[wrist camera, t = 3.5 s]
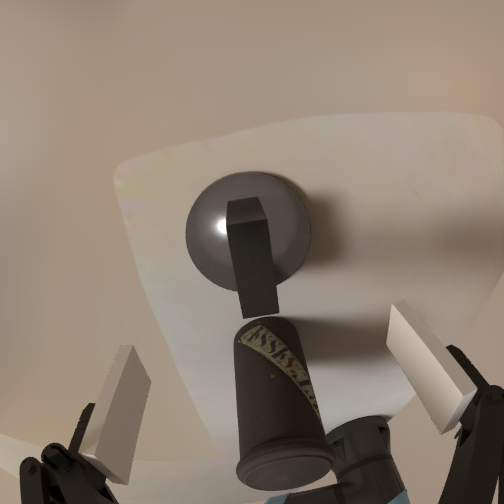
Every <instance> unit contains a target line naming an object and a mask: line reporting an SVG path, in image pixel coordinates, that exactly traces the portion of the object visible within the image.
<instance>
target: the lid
mask: <svg viewBox="0 0 504 504" xmlns="http://www.w3.org/2000/svg"><path fill="white" fill-rule="evenodd" d="M310 236H311V227H310V220H309V216H308V213H307V210H306V208H305V206H304V204H303V203H302V201H301V199H300V198H299V197H298V196H297V194H296V193H295V192H294V191H293V190H292V189H291V188H290V187H288V186H287V185H286V184H285V183H283V182H282V181H280V180H279V179H276V178H274V177H272V176H270V175H267V174H263V173H258V172H238V173H234V174H230V175H227V176H225V177H222V178H220V179H218V180H216V181H215V182H213V183H212V184H211V185H209V186H208V187H207V188H206V189H205V190H204V191H203V192H202V193H201V194H200V196H199V197H198V198H197V200H196V201H195V203H194V205H193V206H192V208H191V211H190V213H189V215H188V219H187V223H186V244H187V248H188V252H189V255H190V257H191V259H192V261H193V263H194V264H195V266H196V267H197V269H198V270H199V271H200V272H201V273H202V274H203V275H204V276H205V277H206V278H207V279H209V280H210V281H211V282H213V283H214V284H216V285H218V286H220V287H223V288H225V289H228V290H232V291H237V292H238V295H239V300H240V305H241V310H242V315H243V319H245V318H252V317H258V316H265V315H271V314H277V313H279V305H278V296H277V288H276V285H278V284H280V283H282V282H283V281H285V280H286V279H287V278H289V277H290V276H291V275H292V274H293V273H294V272H295V271H296V270H297V269H298V267H299V266H300V265H301V263H302V261H303V260H304V258H305V256H306V253H307V251H308V247H309V243H310Z"/></svg>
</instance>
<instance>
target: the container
mask: <svg viewBox="0 0 504 504" xmlns="http://www.w3.org/2000/svg"><path fill="white" fill-rule="evenodd" d="M234 366H235V381H236V400H237V416H238V428H239V447H240V461H239V463H238V464H237V467H236V474H237V477H238V478H239V480H240V481H241V482H242V483H244V484H245V485H247V486H249V487H251V488H254V489H258V490H265V491H279V490H288V489H293V488H298V487H301V486H305V485H308V484H310V483H313V482H315V481H317V480H319V479H321V478H322V477H324V476H325V475H326V474H327V473H328V472H329V471H330V470H331V469H332V468H333V466H334V465H335V462H336V453H335V450H334V449H333V448H332V447H331V446H330V445H329V444H328V443H327V439H326V435H325V431H324V428H323V424H322V420H321V417H320V413H319V409H318V405H317V401H316V397H315V394H314V390H313V387H312V383H311V380H310V376H309V372H308V368H307V365H306V361H305V358H304V354H303V350H302V346H301V343H300V339H299V336H298V333H297V331H296V329H295V327H294V326H293V325H292V324H291V323H290V322H288V321H286V320H284V319H280V318H275V317H267V318H260V319H256V320H253V321H251V322H249V323H248V324H246V325H245V326H243V327H242V328H241V329H240V330H239V331H238V332H237V334H236V336H235V339H234Z"/></svg>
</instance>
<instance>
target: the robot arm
mask: <svg viewBox="0 0 504 504" xmlns="http://www.w3.org/2000/svg"><path fill="white" fill-rule="evenodd" d="M386 345H387V347H388V348H389V350H390V351H391V353H392V354H393V356H394V357H395V359H396V361H397V362H398V364H399V365H400V367H401V369H402V370H403V372H404V373H405V375H406V377H407V378H408V380H409V381H410V383H411V385H412V386H413V388H414V390H415V391H416V393H417V395H418V396H419V398H420V400H421V401H422V403H423V405H424V407H425V408H426V410H427V412H428V413H429V415H430V417H431V419H432V420H433V422H434V424H435V426H436V427H437V429H438V431H439V433H440V434H444V433H446V432H448V431H450V430H452V429H453V428H455V426H456V425H457V423H458V422H459V421H460V423H461V424H462V426H461V428H460V429H459V431H458V432H457V434H456V435H455V437H454V439H456V438H457V437H458V435H459V437H458V441H457V445H456V450H455V453H454V457H453V461H452V464H451V468H450V471H449V474H448V477H447V480H446V483H445V486H444V489H443V492H442V495H441V497H440V500H439V503H438V504H492V500H493V496H494V492H495V488H496V484H497V480H498V475H499V493H498V504H504V389H502V388H501V387H499V386H496V385H489V384H488V383H487V382H486V380H485V379H484V378H483V376H482V375H481V374H480V373H479V372H478V370H477V369H476V368H475V367H474V365H473V364H471V362H470V360H469V359H468V358H466V356H465V354H464V353H463V352H462V351H461V350H460V349H458V348H457V347H455V346H453V345H449V346H447V347H445V346H444V345H443V344H442V343H441V342H440V340H439V339H438V338H437V337H436V336H435V334H434V333H433V332H432V331H431V330H430V329H429V327H428V326H427V325H426V324H425V323H424V322H423V321H422V319H421V318H420V317H419V316H418V315H417V314H416V313H415V311H414V310H413V309H412V308H411V307H410V306H409V305H408V304H407V303H406V301H405V300H403V301H399V302H395V303H392V307H391V314H390V322H389V328H388V335H387V341H386ZM150 385H151V380H150V378H149V376H148V374H147V373H146V371H145V369H144V367H143V365H142V363H141V361H140V359H139V356H138V355H137V352H136V350H135V348H134V346H133V345H124V346H120V347H119V349H118V352H117V354H116V356H115V358H114V361H113V363H112V365H111V368H110V370H109V372H108V375H107V377H106V380H105V382H104V384H103V387H102V389H101V392H100V394H99V397H98V399H97V402H96V403H89V404H88V405H87V407H86V408H85V409H84V410H83V412H82V414H81V417H80V419H79V420H80V421H79V422H78V424H77V428H76V429H75V432H74V435H73V437H72V440H71V443H70V445H69V449H68V450H67V449H66V448H65V447H64V446H63V445H61V444H59V443H51V444H49V445H47V446H46V447H45V448H44V450H43V451H42V454H41V460H42V462H44V463H41V462H39V461H38V460H37V459H36V458H34V457H28V458H25V459H24V460H23V461H22V463H21V465H20V491H21V502H22V504H119V503H118V502H117V500H116V499H115V497H114V495H113V494H112V492H111V490H110V489H109V487H108V486H107V484H106V483H105V481H106V478H108V479H109V480H110V481H111V482H113V483H118V484H124V485H128V482H129V477H130V472H131V467H132V462H133V457H134V452H135V447H136V443H137V438H138V433H139V430H140V425H141V421H142V416H143V413H144V408H145V404H146V401H147V397H148V393H149V388H150ZM326 439H327V443H328V444H329V445H330V446H331V447H332V448H333V449H334V450H335V453H336V462H335V465H334V466H333V468H332V469H331V470H332V471H333V472H334V473H335V475H336V479H337V482H338V483H337V484H333V485H329V486H325V487H321V488H316V489H312V490H307V491H302V492H296V493H287V494H285V495H280V496H275V497H271V498H269V499H268V500H267V501H266V502H265V503H264V504H410V501H409V498H408V495H407V489H405V486H404V484H403V482H402V479H401V477H400V474H399V472H398V470H397V467H396V465H395V462H394V460H393V458H392V455H391V452H390V430H389V427H388V424H387V422H386V420H385V419H384V418H382V417H377V416H372V417H364V418H360V419H357V420H353V421H351V422H348V423H346V424H343V425H341V426H339V427H338V428H336V429H334V430H333V431H331V432H330V433H328V434H327V435H326Z"/></svg>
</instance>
